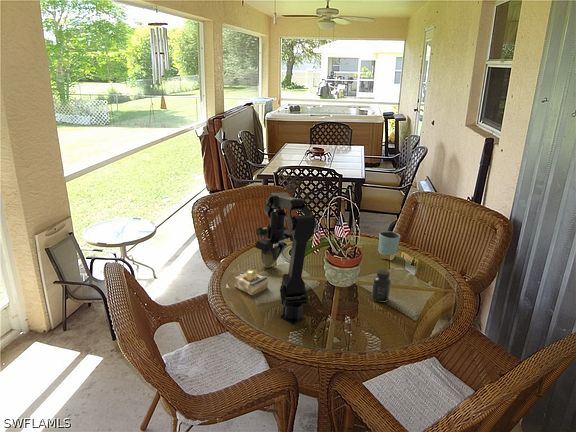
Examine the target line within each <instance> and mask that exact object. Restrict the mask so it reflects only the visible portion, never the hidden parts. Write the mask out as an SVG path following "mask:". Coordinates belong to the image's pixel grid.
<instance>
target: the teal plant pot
mask: <svg viewBox="0 0 576 432" xmlns="http://www.w3.org/2000/svg"><path fill="white" fill-rule="evenodd" d="M378 236H379V238H378V239H379V240H378V249H377V252H378V251H379V253H380V254H382V255H393V254H395V253H396V254H397V252H396V251H398V248H399V242H400V240H401V235H400V234H399V233H397V232H394V231H390V230H384V231H380V232H379V234H378Z"/></svg>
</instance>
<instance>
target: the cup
mask: <svg viewBox="0 0 576 432" xmlns="http://www.w3.org/2000/svg"><path fill="white" fill-rule="evenodd" d="M260 258H261V259H260V260H261V263H263V267H264V268H266V269H272V267H273V265H274V264H275V263H276V261H275V260H273V256H272V253H271V250H270V251H267V252H265V251H262V250H260Z"/></svg>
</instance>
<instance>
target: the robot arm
mask: <svg viewBox="0 0 576 432" xmlns="http://www.w3.org/2000/svg"><path fill="white" fill-rule="evenodd" d="M282 208H283V209H282ZM284 209H287V210H288V211H289V213H288V214H287V212H286V211H285V210H284ZM292 211H300V212H301V213H302V214H303V215H295V216H292ZM263 212H264V213H265V215H266V216H267V217H268V218H269V219H270V220H269V221H270V222H269V224H268V225H267V226H264V227H262V226H260V227H256V230H255V234H256V236H257V237H258V236H259V238H261V239H258V240H257V241H255V245H254V248H256V249H258V250H260V251H261V250H262V251H265V252H267V251H270V250H271V253H272V256H273V260H275V262H276V261H278V259H279V257H280V256H281V254H282V252H283V251H284V249H285V248H286V247H287V246H288V244H287V243H286V242H285V241H286V240H288V239H289V241H290V242H291V243H292V246H291V252H290V259H289V260H290V261H289V266H288V273H284V274H283V275H282V278H281V279H282V281H281V285H280V287H279V293H280V294H279V295H280V305H282V314H281V315H280V318H281V319H283V320H285V321H288V322H289V323H291V324H292V325H295V324H297V323H298V322H300V321H301V320H303V319H304V318H305V317H306V316H305V315H304V314H303V313H304V312H303V309H304V305H307V304H308V302H309V298H308V295H307V290H306V289H307V288H306V283H305V282H304V280H303V278H302V275H303V272H304V271H303V270H304V266H305V265H304V264H305V259H306V258H305V257H306V252H307V251H306V250H307V245H308V242H309V241H310V240H311V238H312V237H313V236H314V233H315V229H316V227H317V220H316V218H315V215H314V212H313V210H311V209H310V207H308V206H307V205H306V203H305V200H304V199H303V198H297V197H293V196H290V194H289V193H288V192H271V193H270V195H268V198H267V200H266V202H265V205H264V207H263ZM286 217H287V218H286ZM286 222H287V225H288V227H287V226H286ZM288 228H289V230H288ZM262 237H265V238H266V239H264V238H262ZM267 239H268V240H267Z"/></svg>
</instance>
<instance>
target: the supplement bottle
mask: <svg viewBox="0 0 576 432" xmlns="http://www.w3.org/2000/svg"><path fill="white" fill-rule="evenodd" d="M391 285H392V281H391V279H390V271H389V270H386V269H378V270H377V273H376V276H374V278H373V281H372V289H371V295H372V298H373V299H374V300H376V301H386V300H388V301H389V298H390V297H389V296H390V291H391ZM372 298H371V299H372ZM373 299H372V300H373ZM374 300H373V301H374ZM376 301H375V302H376Z"/></svg>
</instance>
